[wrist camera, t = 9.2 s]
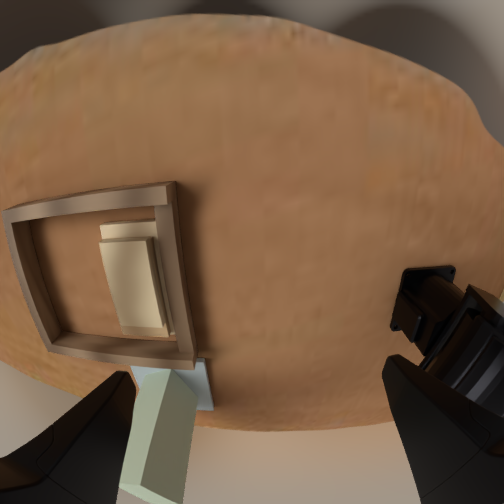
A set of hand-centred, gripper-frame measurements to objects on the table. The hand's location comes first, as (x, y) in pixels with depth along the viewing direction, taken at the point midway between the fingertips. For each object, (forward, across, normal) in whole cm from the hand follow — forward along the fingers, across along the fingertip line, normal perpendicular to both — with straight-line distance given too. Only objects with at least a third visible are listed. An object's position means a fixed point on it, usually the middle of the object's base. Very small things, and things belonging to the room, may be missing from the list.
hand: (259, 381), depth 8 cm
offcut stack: (+13, +9, +3) cm, 16 cm away
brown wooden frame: (+13, +14, +2) cm, 19 cm away
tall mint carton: (+13, +9, +15) cm, 22 cm away
